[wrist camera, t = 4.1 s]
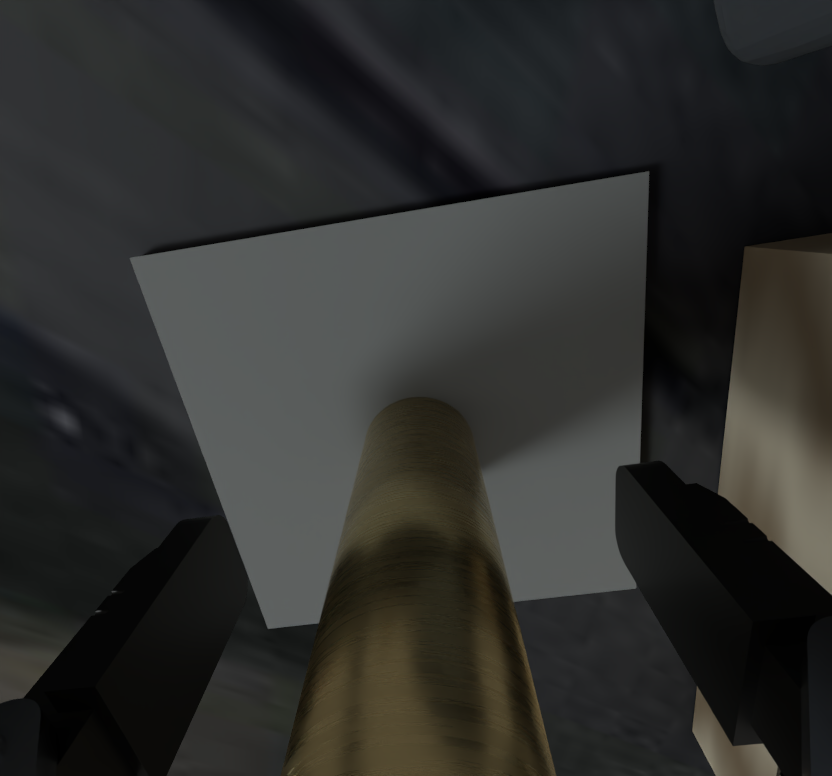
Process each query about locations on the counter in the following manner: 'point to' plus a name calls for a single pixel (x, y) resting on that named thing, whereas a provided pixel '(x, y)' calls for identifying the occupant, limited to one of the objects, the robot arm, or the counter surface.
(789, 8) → the storage bin
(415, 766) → the peg
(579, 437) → the mat
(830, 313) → the hole block
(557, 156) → the counter surface
